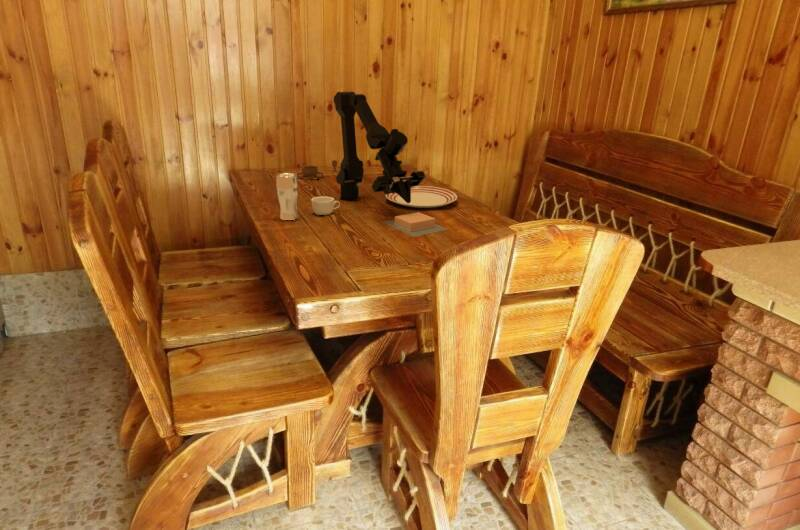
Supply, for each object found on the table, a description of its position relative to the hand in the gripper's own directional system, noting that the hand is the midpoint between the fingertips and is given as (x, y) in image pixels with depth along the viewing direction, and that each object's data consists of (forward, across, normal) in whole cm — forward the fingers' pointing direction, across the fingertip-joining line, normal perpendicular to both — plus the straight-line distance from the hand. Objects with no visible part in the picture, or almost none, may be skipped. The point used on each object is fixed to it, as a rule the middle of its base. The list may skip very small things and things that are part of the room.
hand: (409, 202), depth 177 cm
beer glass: (-14, +31, -24) cm, 42 cm away
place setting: (-50, -8, -62) cm, 80 cm away
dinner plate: (-9, -21, -20) cm, 30 cm away
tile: (+3, 0, -5) cm, 6 cm away
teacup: (-12, +18, -23) cm, 32 cm away
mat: (+8, 0, -3) cm, 8 cm away
